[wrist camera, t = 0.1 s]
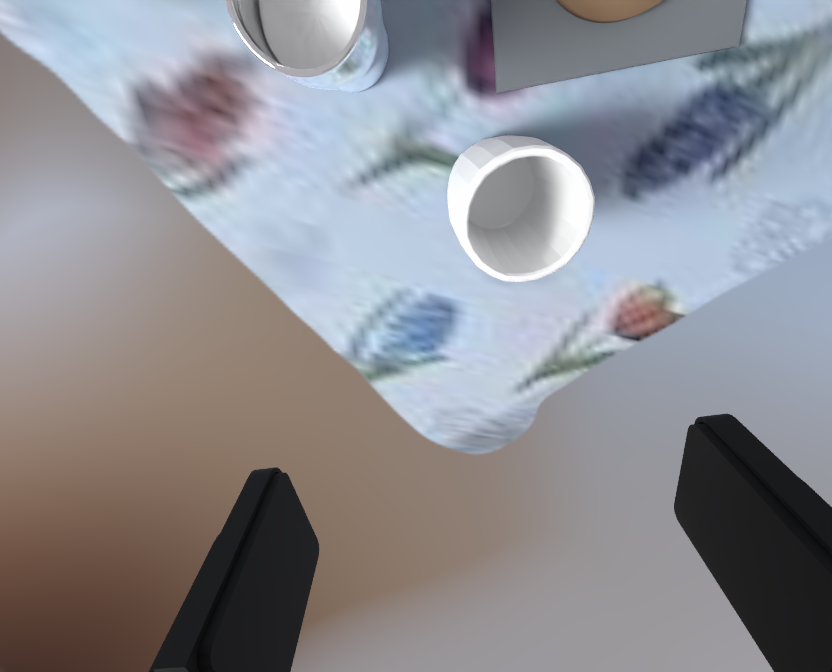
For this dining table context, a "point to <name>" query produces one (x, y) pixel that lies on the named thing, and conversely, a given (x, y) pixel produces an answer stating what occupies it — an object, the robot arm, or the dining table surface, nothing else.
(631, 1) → the lid
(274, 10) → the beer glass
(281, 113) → the dining table surface
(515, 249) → the cup
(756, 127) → the dining table surface
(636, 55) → the mat
